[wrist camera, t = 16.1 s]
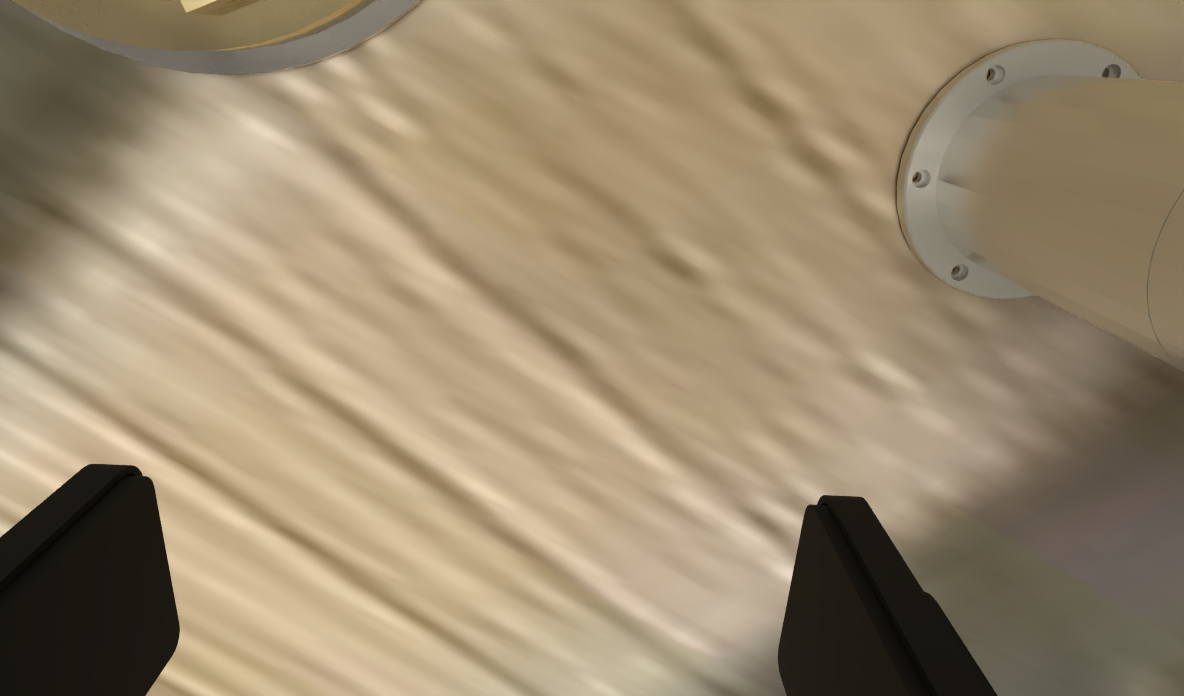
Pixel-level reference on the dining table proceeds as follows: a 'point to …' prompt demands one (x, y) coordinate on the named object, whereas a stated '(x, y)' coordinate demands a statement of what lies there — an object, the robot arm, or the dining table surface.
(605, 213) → the dining table surface
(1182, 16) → the dining table surface
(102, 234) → the dining table surface
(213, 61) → the round white base
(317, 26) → the round wooden platform
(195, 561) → the dining table surface
